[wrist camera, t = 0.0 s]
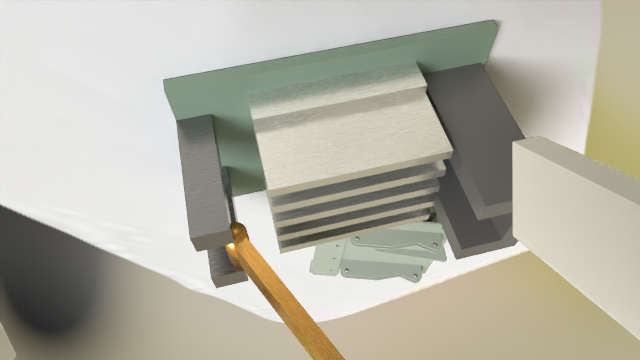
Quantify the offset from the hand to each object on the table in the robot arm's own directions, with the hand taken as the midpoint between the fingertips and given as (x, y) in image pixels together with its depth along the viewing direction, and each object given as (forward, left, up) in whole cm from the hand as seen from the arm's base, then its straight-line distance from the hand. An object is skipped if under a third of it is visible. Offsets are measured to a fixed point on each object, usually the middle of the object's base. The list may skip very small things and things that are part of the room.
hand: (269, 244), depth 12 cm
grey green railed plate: (+15, +6, -15) cm, 22 cm away
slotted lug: (+15, +13, -14) cm, 24 cm away
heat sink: (+15, +3, -14) cm, 21 cm away
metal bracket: (+34, +10, -16) cm, 39 cm away
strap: (+15, +2, -1) cm, 15 cm away
